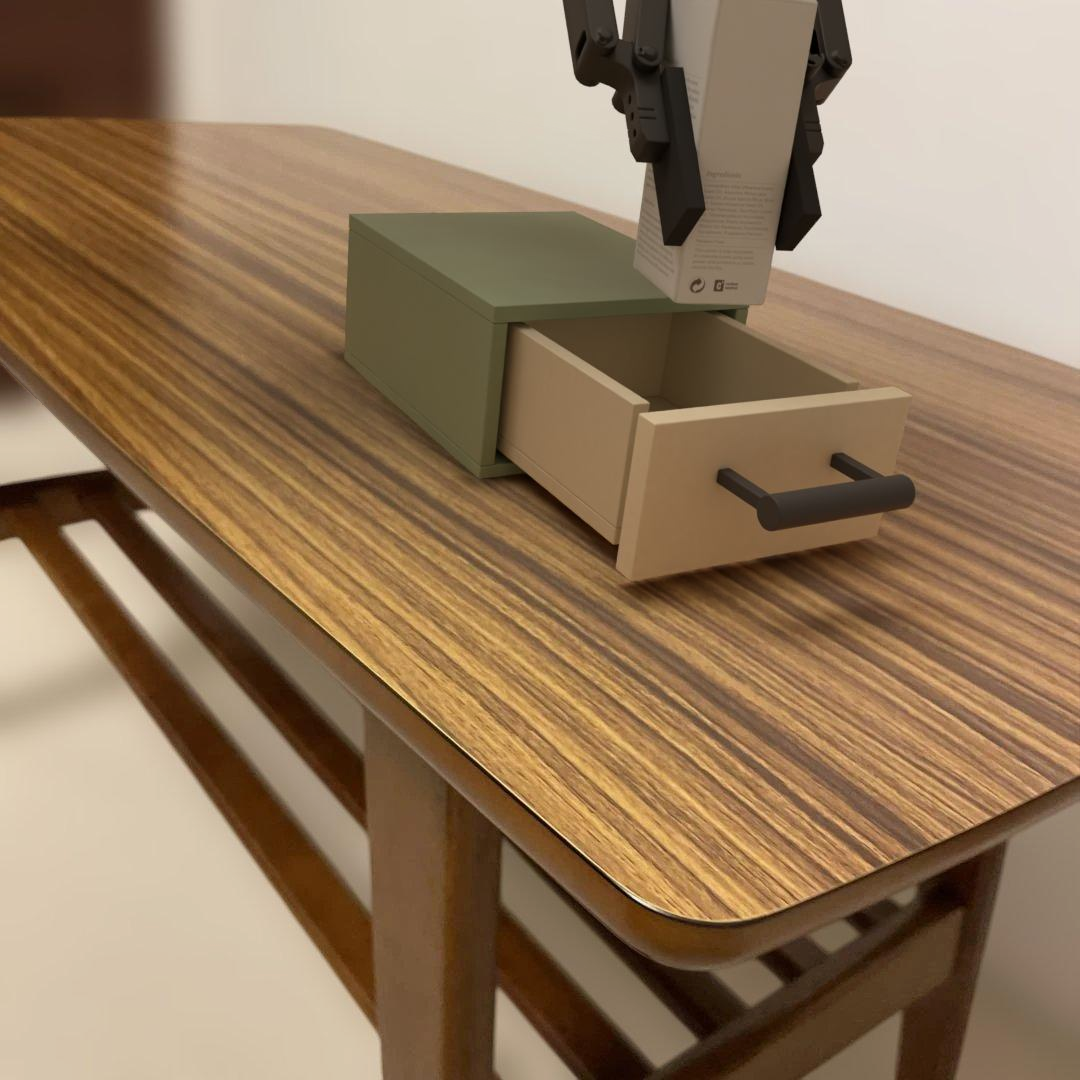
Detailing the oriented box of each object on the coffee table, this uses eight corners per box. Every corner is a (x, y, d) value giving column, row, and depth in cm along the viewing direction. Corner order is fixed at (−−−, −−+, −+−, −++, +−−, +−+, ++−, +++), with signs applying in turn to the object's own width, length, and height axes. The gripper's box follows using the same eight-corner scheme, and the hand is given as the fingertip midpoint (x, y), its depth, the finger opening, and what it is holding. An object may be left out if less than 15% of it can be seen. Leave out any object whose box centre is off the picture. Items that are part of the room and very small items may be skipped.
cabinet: (723, 451, 66) (752, 293, 62) (478, 482, 59) (494, 306, 55) (558, 346, 79) (574, 211, 75) (343, 361, 72) (348, 213, 68)
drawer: (945, 579, 52) (988, 431, 49) (691, 634, 46) (722, 467, 43) (670, 407, 68) (690, 287, 65) (452, 430, 62) (462, 297, 59)
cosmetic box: (768, 308, 52) (823, 0, 47) (672, 306, 51) (718, -10, 45) (716, 270, 57) (761, -12, 52) (629, 267, 56) (665, -21, 51)
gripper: (801, -132, 62) (887, 284, 55) (463, -177, 57) (510, 270, 50) (876, -268, 55) (984, 189, 48) (497, -332, 50) (558, 162, 43)
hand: (742, 229), depth 49 cm, fingers closed on cosmetic box, 4 cm apart
